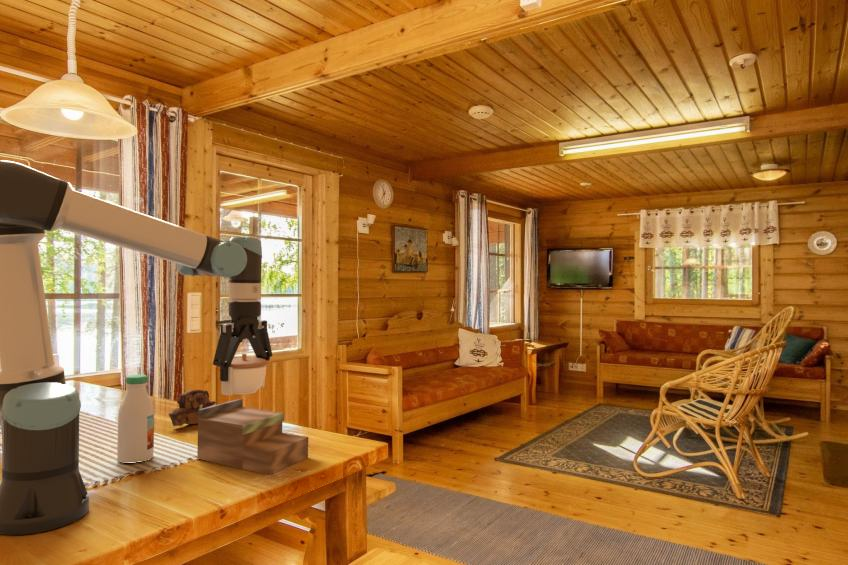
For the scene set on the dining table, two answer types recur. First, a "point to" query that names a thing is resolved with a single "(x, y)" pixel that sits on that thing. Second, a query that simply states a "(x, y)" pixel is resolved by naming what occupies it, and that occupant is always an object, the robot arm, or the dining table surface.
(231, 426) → the stepped stand
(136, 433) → the milk bottle
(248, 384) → the lidded jar
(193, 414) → the wooden carving
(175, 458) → the dining table surface
